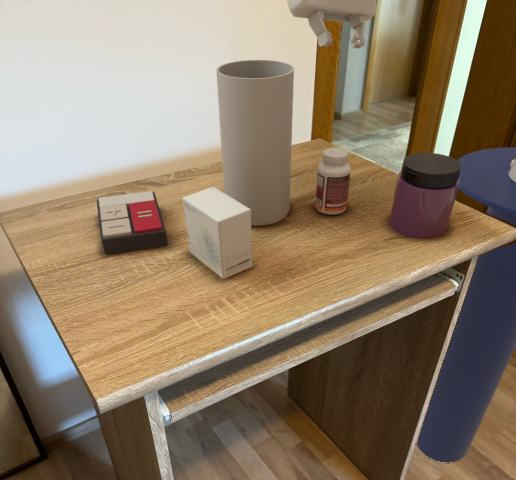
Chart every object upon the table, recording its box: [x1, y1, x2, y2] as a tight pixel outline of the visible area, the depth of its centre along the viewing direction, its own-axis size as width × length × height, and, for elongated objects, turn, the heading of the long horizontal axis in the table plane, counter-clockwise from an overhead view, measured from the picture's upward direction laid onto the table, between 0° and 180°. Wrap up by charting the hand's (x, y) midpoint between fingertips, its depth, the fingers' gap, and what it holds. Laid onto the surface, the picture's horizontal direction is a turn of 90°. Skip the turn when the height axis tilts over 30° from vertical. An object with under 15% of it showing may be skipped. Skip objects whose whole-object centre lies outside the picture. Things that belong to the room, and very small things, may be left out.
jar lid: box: [400, 152, 461, 188], centre depth 84 cm, size 10×10×2 cm
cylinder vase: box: [215, 59, 295, 227], centre depth 87 cm, size 12×12×25 cm
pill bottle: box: [314, 147, 352, 216], centre depth 92 cm, size 6×6×11 cm
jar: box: [389, 170, 460, 240], centre depth 87 cm, size 10×10×11 cm
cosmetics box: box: [182, 186, 254, 280], centre depth 79 cm, size 10×6×10 cm, turn 37°
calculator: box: [96, 190, 168, 255], centre depth 89 cm, size 11×4×15 cm
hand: (343, 46), depth 82 cm, fingers open, 8 cm apart
